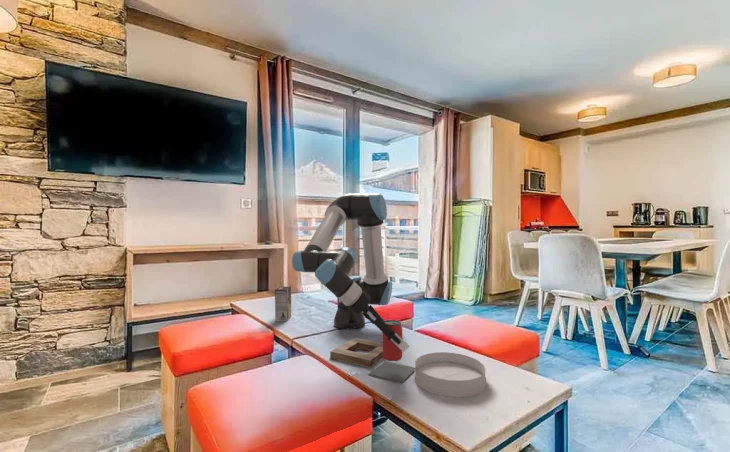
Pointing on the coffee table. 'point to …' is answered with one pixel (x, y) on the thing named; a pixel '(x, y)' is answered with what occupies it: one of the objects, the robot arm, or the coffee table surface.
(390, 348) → the beer can
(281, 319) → the coffee box
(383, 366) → the coaster
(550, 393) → the coffee table surface
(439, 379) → the dish
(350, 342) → the pocket tray
